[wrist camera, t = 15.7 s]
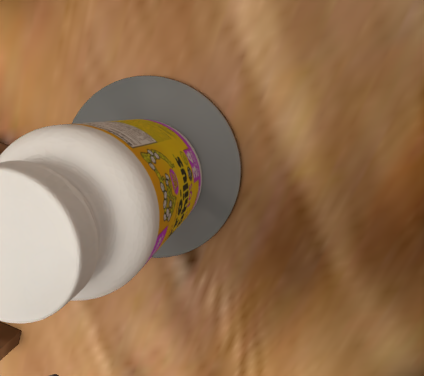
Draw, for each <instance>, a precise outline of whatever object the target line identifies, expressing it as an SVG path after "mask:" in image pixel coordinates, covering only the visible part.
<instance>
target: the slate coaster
mask: <svg viewBox="0 0 424 376" xmlns="http://www.w3.org/2000/svg"><path fill="white" fill-rule="evenodd" d="M133 119H147V120H154V121H158V122H162V123H165V124H167V125H169V126H171V127H173V128H174V129H176V130H177V131H179V132H180V133H181V134H182V135H183V136H184V137H185V138H186V139H187V140H188V141H189V142H190V144H191V145H192V147H193V148H194V150H195V152H196V154H197V156H198V159H199V162H200V165H201V171H202V186H201V192H200V196H199V198H198V201H197V203H196V205H195V207H194V208H193V210H192V211H191V213H190V214H189V215H188V216H187V218H186V219H185V220H184V221H183V222H182V223H181V224H180V226H179V227H178V228H177V229H176V230H175V231H174V232H173V233H172V235H171V236H170V237H169V238H168V239H167V240H166V241H165V242H164V244H163V245H162V246H161V247H160V248H159V249H158V250H157V251H156V252H155V254H154V255H153V256H152V257H154V258H161V257H171V256H176V255H180V254H183V253H186V252H189V251H191V250H193V249H195V248H197V247H199V246H201V245H202V244H203V243H205V242H206V241H208V240H209V239H210V238H211V237H212V236H213V235H214V234H216V233H217V232H218V230H219V229H220V228H221V227H222V225H223V224H224V223H225V221H226V220H227V218H228V216H229V215H230V213H231V211H232V209H233V206H234V204H235V202H236V199H237V196H238V192H239V189H240V182H241V158H240V152H239V148H238V144H237V140H236V138H235V135H234V133H233V130H232V128H231V127H230V125H229V123H228V121H227V120H226V118H225V117H224V115H223V114H222V113H221V111H220V110H219V109H218V108H217V107H216V106H215V105H214V104H213V103H212V102H211V100H209V99H208V98H207V97H206V96H204V95H203V94H202V93H200V92H199V91H197V90H196V89H194V88H192V87H190V86H188V85H186V84H184V83H181V82H179V81H175V80H172V79H168V78H164V77H157V76H136V77H130V78H125V79H122V80H119V81H116V82H114V83H112V84H110V85H108V86H106V87H104V88H102V89H101V90H100V91H98V92H97V93H95V94H94V95H93V96H92V97H91V98H90V99H89V100H88V101H87V102H86V103H85V104H84V105H83V107H82V108H81V109H80V110H79V112H78V114H77V115H76V117H75V118H74V120H73V122H72V124H75V123H91V122H106V121H119V120H133Z"/></svg>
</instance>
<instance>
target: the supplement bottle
mask: <svg viewBox="0 0 424 376" xmlns="http://www.w3.org/2000/svg"><path fill="white" fill-rule="evenodd" d="M201 186H202V171H201V165H200V162H199V159H198V156H197V154H196V152H195V150H194V148H193V147H192V145H191V144H190V142H189V141H188V140H187V139H186V138H185V137H184V136H183V135H182V134H181V133H180V132H179V131H177V130H176V129H174V128H173V127H171V126H169V125H167V124H165V123H162V122H158V121H154V120H147V119H133V120H119V121H106V122H91V123H75V124H62V125H54V126H47V127H43V128H40V129H36V130H34V131H31V132H29V133H27V134H25V135H23V136H22V137H20V138H18V139H17V140H16V141H14V142H13V143H12V144H10V145H9V146H8V147H7V148H6V149H5V150H4V151H3V152H2V153H1V155H0V321H3V322H8V323H30V322H35V321H39V320H42V319H45V318H47V317H49V316H51V315H52V314H54V313H56V312H57V311H58V310H60V309H61V308H62V307H63V306H64V305H66V304H67V303H68V302H69V301H70V300H88V299H94V298H98V297H102V296H104V295H107V294H109V293H112V292H113V291H115V290H117V289H119V288H121V287H122V286H124V285H125V284H126V283H127V282H129V281H130V280H131V279H132V278H133V277H134V276H135V275H136V274H137V273H138V272H139V271H140V270H141V269H142V267H143V266H144V265H145V264H146V263H147V262H148V260H149V259H150V258H151V257H152V256H153V255H154V254H155V252H156V251H157V250H158V249H159V248H160V247H161V246H162V245H163V244H164V242H165V241H166V240H167V239H168V238H169V237H170V236H171V235H172V233H173V232H174V231H175V230H176V229H177V228H178V227H179V226H180V224H181V223H182V222H183V221H184V220H185V219H186V218H187V216H188V215H189V214H190V213H191V211H192V210H193V208H194V207H195V205H196V203H197V201H198V198H199V196H200V192H201Z"/></svg>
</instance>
